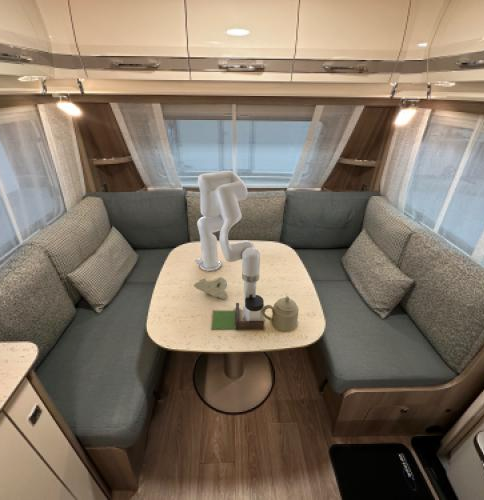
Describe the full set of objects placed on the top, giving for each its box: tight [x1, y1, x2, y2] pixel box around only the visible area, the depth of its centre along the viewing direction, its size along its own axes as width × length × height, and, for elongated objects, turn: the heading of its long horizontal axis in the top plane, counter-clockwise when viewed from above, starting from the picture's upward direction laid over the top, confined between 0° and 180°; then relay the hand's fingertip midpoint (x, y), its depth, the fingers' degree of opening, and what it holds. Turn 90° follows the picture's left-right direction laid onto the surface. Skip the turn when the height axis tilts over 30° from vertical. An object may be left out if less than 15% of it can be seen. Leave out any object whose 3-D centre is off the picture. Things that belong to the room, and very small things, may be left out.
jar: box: [243, 294, 265, 322], centre depth 118 cm, size 9×8×12 cm
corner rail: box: [235, 302, 265, 331], centre depth 121 cm, size 12×13×4 cm
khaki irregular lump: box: [193, 276, 228, 300], centre depth 136 cm, size 15×7×15 cm
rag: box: [211, 310, 236, 330], centre depth 121 cm, size 10×11×1 cm
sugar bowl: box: [263, 295, 300, 332], centre depth 115 cm, size 15×11×15 cm
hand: (249, 306), depth 126 cm, fingers closed
